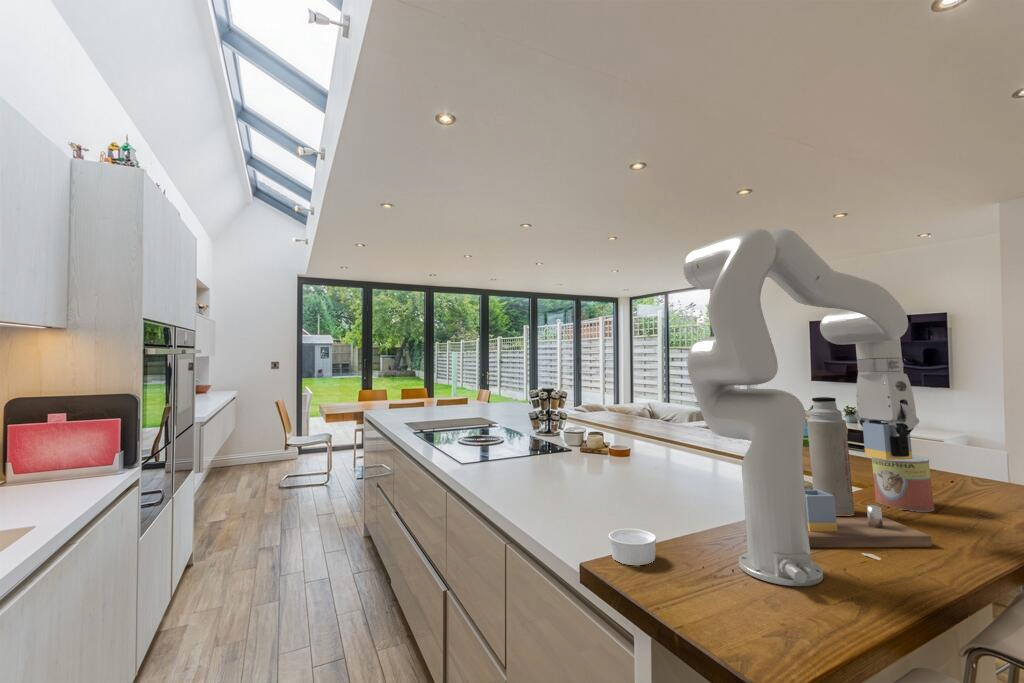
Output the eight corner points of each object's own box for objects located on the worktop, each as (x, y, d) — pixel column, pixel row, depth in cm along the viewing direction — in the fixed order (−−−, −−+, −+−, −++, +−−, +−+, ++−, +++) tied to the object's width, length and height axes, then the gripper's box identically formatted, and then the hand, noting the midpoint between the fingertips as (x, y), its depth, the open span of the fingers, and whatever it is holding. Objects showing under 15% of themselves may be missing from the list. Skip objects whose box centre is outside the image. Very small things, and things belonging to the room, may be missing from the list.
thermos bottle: (858, 512, 110) (847, 396, 112) (849, 519, 105) (837, 398, 107) (820, 505, 116) (811, 396, 118) (809, 512, 111) (800, 397, 113)
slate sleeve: (912, 459, 92) (909, 424, 92) (886, 459, 92) (883, 425, 92) (890, 455, 97) (887, 422, 98) (865, 455, 97) (862, 422, 98)
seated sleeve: (837, 531, 91) (834, 495, 92) (809, 531, 92) (806, 496, 92) (821, 522, 97) (818, 489, 97) (795, 522, 97) (792, 489, 98)
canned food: (866, 503, 116) (861, 456, 117) (890, 497, 121) (885, 452, 122) (920, 514, 106) (914, 463, 107) (943, 507, 111) (938, 458, 112)
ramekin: (600, 554, 89) (599, 532, 89) (638, 547, 92) (637, 525, 92) (627, 572, 80) (626, 547, 81) (667, 563, 83) (666, 539, 84)
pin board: (932, 546, 87) (928, 514, 87) (803, 547, 89) (800, 516, 89) (885, 526, 99) (882, 498, 99) (772, 527, 101) (770, 500, 101)
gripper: (935, 365, 88) (944, 460, 86) (865, 368, 105) (872, 447, 103) (897, 366, 87) (906, 461, 86) (833, 369, 105) (839, 448, 103)
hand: (887, 453), depth 94 cm, fingers closed on slate sleeve, 5 cm apart
